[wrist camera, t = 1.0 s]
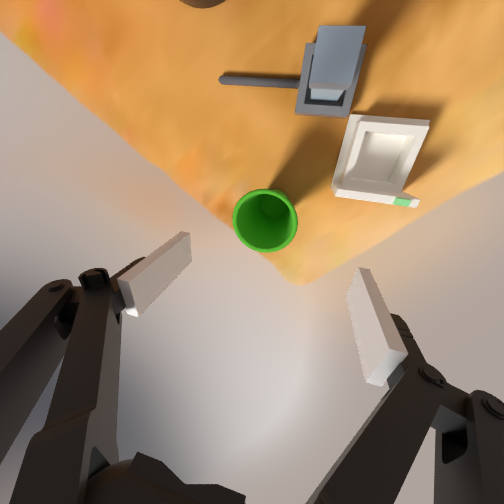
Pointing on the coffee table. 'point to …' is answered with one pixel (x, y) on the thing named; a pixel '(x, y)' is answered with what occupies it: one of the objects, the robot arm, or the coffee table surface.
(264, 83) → the cord
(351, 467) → the robot arm
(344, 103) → the grey square socket
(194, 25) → the coffee table surface
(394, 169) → the tray
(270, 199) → the cup
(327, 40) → the plug
